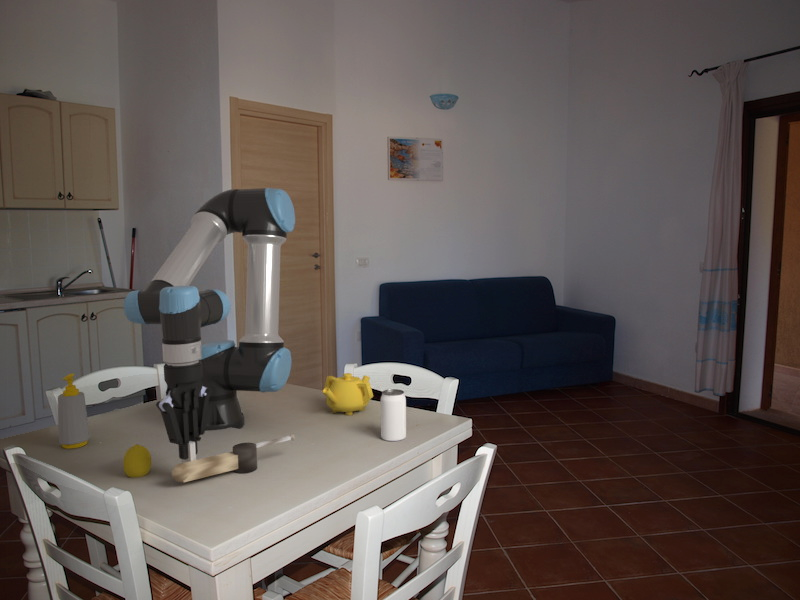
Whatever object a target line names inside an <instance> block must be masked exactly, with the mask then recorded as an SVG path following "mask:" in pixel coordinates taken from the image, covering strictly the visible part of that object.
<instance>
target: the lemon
mask: <svg viewBox="0 0 800 600" xmlns="http://www.w3.org/2000/svg"><path fill="white" fill-rule="evenodd" d="M152 460H153V459H152V455H151V453H150V451H149V449H148V448H147V447H146V446H144V445H139V444H138V443H136V444H134V445H133V446H131V447H129V448H128V449H127V450H126V452H125V454H124V457H123V460H122V462H123V463H122V465H123V466H122V467H123V470H124V473H125V475H126V476H127V477H128V478H132V479H133V478H134V479H135V478H142V477H145V476H146V475H147V474H149V472H150V471H151V468H152V462H153V461H152Z"/></svg>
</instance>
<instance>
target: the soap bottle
mask: <svg viewBox="0 0 800 600" xmlns="http://www.w3.org/2000/svg"><path fill="white" fill-rule="evenodd" d="M74 376H75V373H69V374H68V375H65V376H64V377H63V378H62V380H63V381H66V383H67V385H66V386H65V388H64V390H63V391H62V393H61V394H59V395H58V396H57V417H58V418H57V419H58V421H57V422H58V424H57V425H58V443H59V444H60V445H61V447H62V449H66V450H67V449H69V450H70V449H71V450H72V449H78V448H81V447H84V446H86V445H88V441H89V440H90V438H91V436H90V427H89V420H88V413H87V405H86V396H85V392H83V391H80V389H79V388H77V386H76V384H73V382H74Z"/></svg>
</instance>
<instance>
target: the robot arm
mask: <svg viewBox="0 0 800 600" xmlns="http://www.w3.org/2000/svg"><path fill="white" fill-rule="evenodd" d="M294 208H295V207H294V204H293V202H292V199H291V197H290V195H289V194H288V192H286V191H285V190H284V189H282V188H274V187H273V188H271V187H264V188H239V189H238V188H236V189H235V188H231V189H227V190H224V191H222V192H220V193H217V194H216V195H214V196H213V197H211V198H210V199H209V200H207V201H206V202H205V203H204V204H202V205H201V206H200V208H199V209H197V211H196V212H195V213H194V215H192V218H191V220H190V225H191V226H190V227H189V228H188V230H187V231H186V233H185V234H184V235H183V237H182V238H181V239H180V241H179V242H178V243H177V245H176V246H175V248H174V249H173V250H172V252H171V253H170V255H169V256H168V257H167V258H166V260H165V261H164V263H163V264H162V265H161V267H160V268H159V270H158V271H157V272H156V274H155V275H154V276H153V277H152V279H151V280H150V282H149V283H148V285H147V286H146V287H145V289H143V290H142V289H138V290H132V291H130V292H128V293H127V295H126V296H125V298H124V300H123V301H124V302H123V312H124V315H125V318H127V320H128V321H129V322H130V323H133V324H139V325H140V324H141V325H148V326H149V325H160V328H161V344H162V345H161V347H162V361H163V362H164V365H163V377H164V379H163V380H164V382H165V385H166V391H165V397H164V398H163V399H162V400H161V401H160V400H159V401H157V402H156V403H155V405H156V408H157V409H158V410H159V412H160V413H161V417H162V420H163V424H164V426H165V430H166V434H167V438H168V441H169V443H171V444H175V445H178V458H179V459H180V460H181V463H185V462H189V461H193V460H197V454H198V451H199V450H198V442H200V441H201V440H202V437H200V436H203V435H204V434H205V431H206V432H207V431H209V432H211V431H218V430H219V431H221V430H225V429H230V428H231V429H232V428H233V429H241V428H242V427H244V425H245V414H244V412H242V407H241V404H240V401H239V399H238V394H237V393H238V392H239V391H240V392H258V393H259V392H260V393H261V394H262V393H275V392H278V391H281V390H282V389H283V388H284V387H285V385H287V384H286V383H287V381H288V379H289V377H290V374H291V368H292V355H291V354H292V352H291V351H290V349H288V348H287V347H285V344H284V343H285V341H284V339H282V337H280V335H279V324H280V323H279V315H280V286H281V285H280V282H281V280H280V278H281V248H282V247H281V246H282V245H283V244H284V243H286V241H287V234H288V233H291V232H293V230H294V229H295V225H296V213H295V209H294ZM235 233H242V234H241V236H242V237H241V238H242V239H243V241H244V242H245V243H246V244H247V257H246V258H247V261H246V263H247V264H246V265H247V267H246V296H245V297H246V300H245V301H246V302H245V332H244V335H242V337H241V338H240V339H239V340H238V346H236V343H235V341H234V340H231V339H230V340H229V339H226V340H225V339H224V340H219V341H212V342H206V343H202V336H201V335H202V333H201V332H202V331H201V328H204V327H207V326H210V325H216V324H218V323H219V322H221V321H224V320H225V319H226V318H227V317H228V316H229V314H230V311H231V301H230V299H229V297H228V296H227V294H226V293H225V292H223V291H222V290H219V289H215V288H214V289H205V290H199V289H198V288H197V287H196V286H194V285H190V284H191V283H192V282H193V280H194V279H195V277H196V275H197V274H198V272H199V271H200V269H201V268H202V266H203V265H204V263H205V262H206V260H207V259H208V258H209V255H211V253H212V251H213V249H214V248H215V247H216V245H217V243H220V242H222V241H224V240H225V238H226V237H227V236H228V235H230V234H235ZM237 391H238V392H237Z"/></svg>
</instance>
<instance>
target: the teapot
mask: <svg viewBox="0 0 800 600" xmlns="http://www.w3.org/2000/svg"><path fill="white" fill-rule="evenodd" d="M370 379H371V378H370V376H368V375H363V376H362V378H360V377H358V376H353V374H352V373H351V372H350V373H349V372H344V373H343V374H342V376H339V377H336V376H333V375H328V376H326V379H325V383H324V388H323V389H322V393H323V394H324V396H325V397H326V401H325V402H326V404H327V406H328V407H329V408H330V409H331V413H333V414H334V413H340V412H343V413H344V412H345V416H347V417H351V416H353V415H354V412H357V411H358V412H363V411H365V410H366V409H365V408H366V407H367V406H368V404H369V402H370V401H371V399H372V398H373V397H374V393H373V390H372V385H371V383H370Z"/></svg>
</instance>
